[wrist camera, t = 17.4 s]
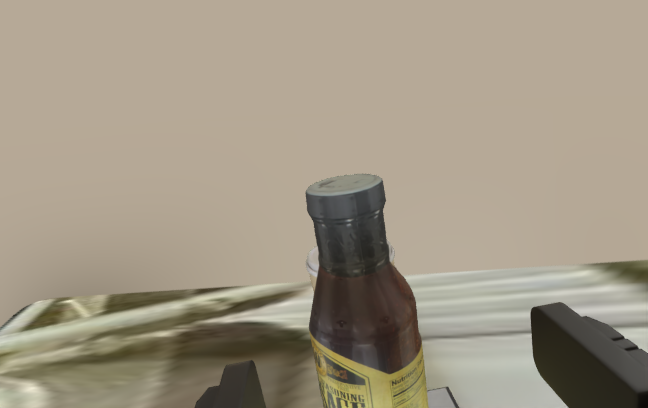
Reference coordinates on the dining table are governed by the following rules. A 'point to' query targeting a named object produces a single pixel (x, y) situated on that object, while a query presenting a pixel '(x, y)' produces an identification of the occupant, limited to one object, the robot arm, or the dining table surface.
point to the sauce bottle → (361, 302)
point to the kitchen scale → (441, 398)
